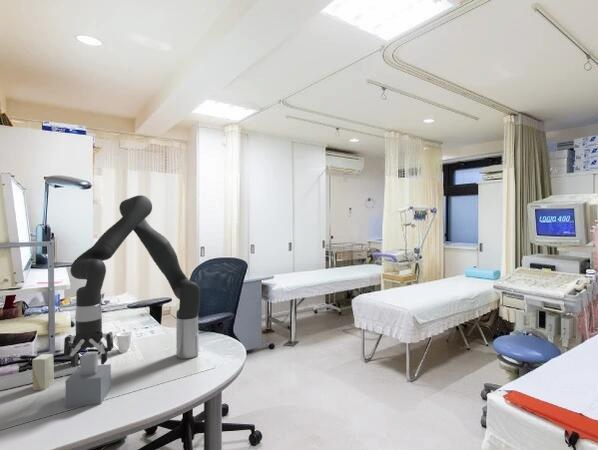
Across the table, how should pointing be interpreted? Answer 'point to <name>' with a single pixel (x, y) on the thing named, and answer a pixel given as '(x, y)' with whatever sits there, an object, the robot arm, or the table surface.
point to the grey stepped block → (88, 382)
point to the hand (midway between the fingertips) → (89, 364)
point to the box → (43, 371)
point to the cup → (123, 341)
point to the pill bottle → (76, 345)
